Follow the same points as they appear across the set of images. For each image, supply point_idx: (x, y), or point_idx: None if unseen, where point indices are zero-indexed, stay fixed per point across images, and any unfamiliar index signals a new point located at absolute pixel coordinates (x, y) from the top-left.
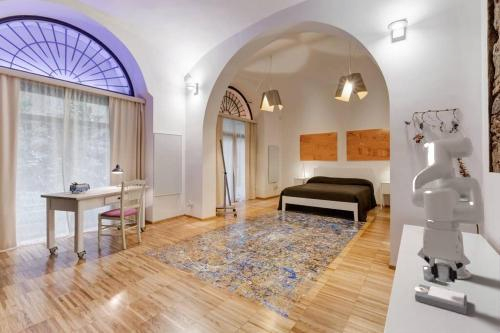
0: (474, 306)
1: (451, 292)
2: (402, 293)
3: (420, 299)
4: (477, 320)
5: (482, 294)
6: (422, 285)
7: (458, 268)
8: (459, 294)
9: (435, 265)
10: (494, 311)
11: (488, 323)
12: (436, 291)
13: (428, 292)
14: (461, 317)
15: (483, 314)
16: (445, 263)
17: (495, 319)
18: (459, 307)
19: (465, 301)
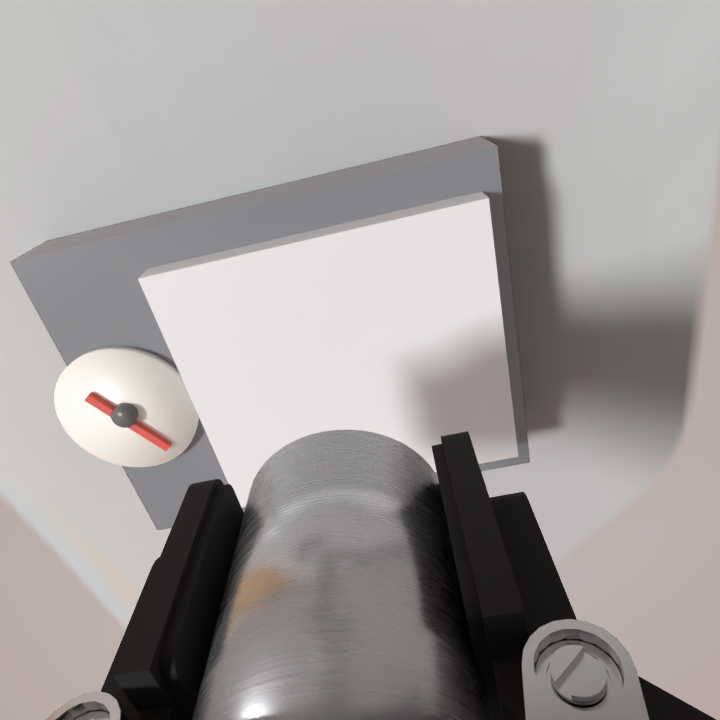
0: (550, 207)
1: (372, 286)
2: (32, 454)
3: None
4: (584, 445)
5: None
6: (48, 271)
7: None
8: (451, 272)
9: (181, 717)
10: (709, 167)
11: (647, 431)
12: (256, 384)
13: (220, 464)
14: (493, 483)
15: (620, 316)
16: (346, 703)
17: (697, 331)
18: (484, 464)
19: (510, 330)
